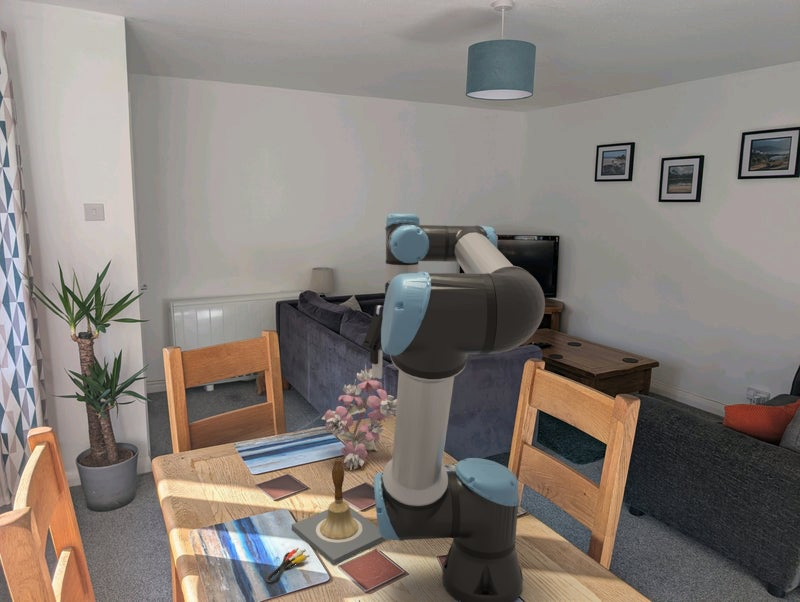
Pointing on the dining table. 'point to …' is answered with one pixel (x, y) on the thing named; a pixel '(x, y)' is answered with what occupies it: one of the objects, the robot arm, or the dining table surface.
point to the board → (341, 547)
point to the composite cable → (287, 563)
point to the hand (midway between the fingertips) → (399, 371)
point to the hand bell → (338, 510)
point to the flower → (360, 418)
